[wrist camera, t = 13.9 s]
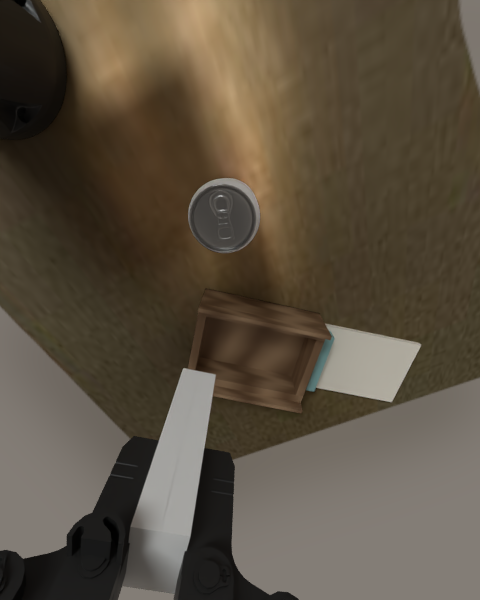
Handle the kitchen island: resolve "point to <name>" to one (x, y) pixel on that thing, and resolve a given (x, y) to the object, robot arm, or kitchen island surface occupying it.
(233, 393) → the box
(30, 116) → the robot arm
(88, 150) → the kitchen island surface
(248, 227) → the can
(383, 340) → the lid
